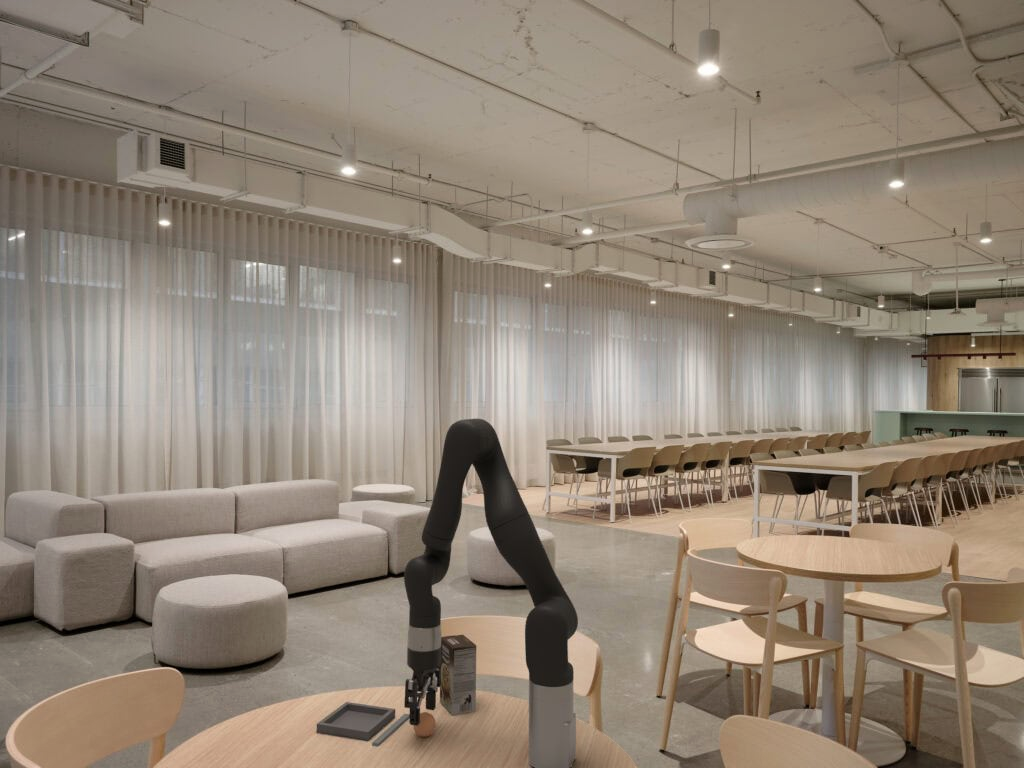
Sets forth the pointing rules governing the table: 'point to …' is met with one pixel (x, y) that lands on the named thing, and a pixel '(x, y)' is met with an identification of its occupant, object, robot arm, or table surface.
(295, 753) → the table surface
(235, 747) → the table surface
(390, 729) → the distance line
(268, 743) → the table surface
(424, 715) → the ball
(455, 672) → the coffee box
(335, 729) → the tray
